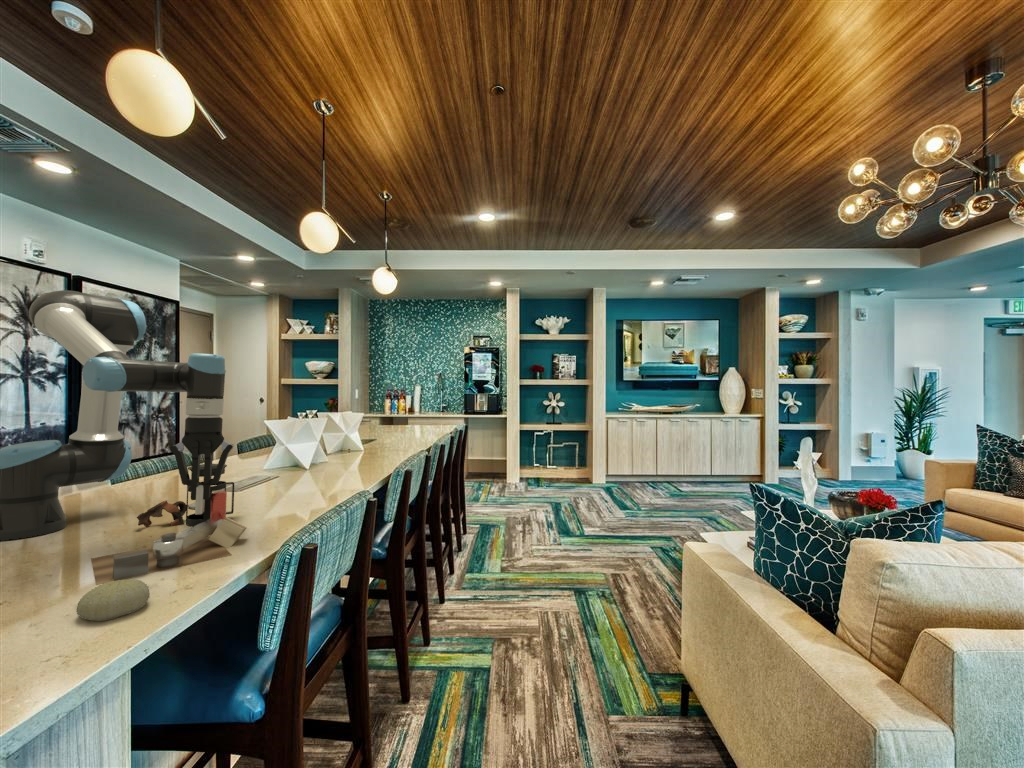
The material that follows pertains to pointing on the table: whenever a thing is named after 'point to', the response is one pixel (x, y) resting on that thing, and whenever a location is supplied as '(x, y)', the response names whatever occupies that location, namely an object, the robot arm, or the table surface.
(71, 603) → the table surface
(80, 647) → the table surface
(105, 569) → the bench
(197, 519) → the french press
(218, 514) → the lever
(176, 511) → the broken mug
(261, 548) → the table surface
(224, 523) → the block
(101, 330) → the robot arm
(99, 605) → the olive grey stone
